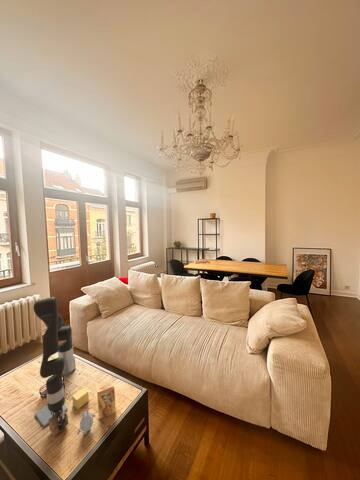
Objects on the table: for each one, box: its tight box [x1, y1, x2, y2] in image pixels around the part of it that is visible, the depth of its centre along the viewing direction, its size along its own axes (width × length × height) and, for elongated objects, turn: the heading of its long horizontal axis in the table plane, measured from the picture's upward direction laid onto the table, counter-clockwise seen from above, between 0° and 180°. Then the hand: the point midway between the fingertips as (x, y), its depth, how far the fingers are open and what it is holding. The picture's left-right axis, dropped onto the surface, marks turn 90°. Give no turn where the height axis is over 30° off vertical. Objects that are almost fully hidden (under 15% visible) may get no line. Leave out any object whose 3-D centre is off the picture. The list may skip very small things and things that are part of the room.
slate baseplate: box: [34, 404, 68, 428], centre depth 115 cm, size 12×12×1 cm
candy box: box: [96, 383, 117, 420], centre depth 113 cm, size 9×4×15 cm, turn 116°
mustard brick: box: [72, 387, 90, 410], centre depth 121 cm, size 7×5×6 cm
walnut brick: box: [48, 410, 69, 437], centre depth 105 cm, size 7×5×6 cm
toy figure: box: [77, 408, 96, 436], centre depth 104 cm, size 11×6×12 cm, turn 154°
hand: (59, 425), depth 105 cm, fingers closed on walnut brick, 5 cm apart
